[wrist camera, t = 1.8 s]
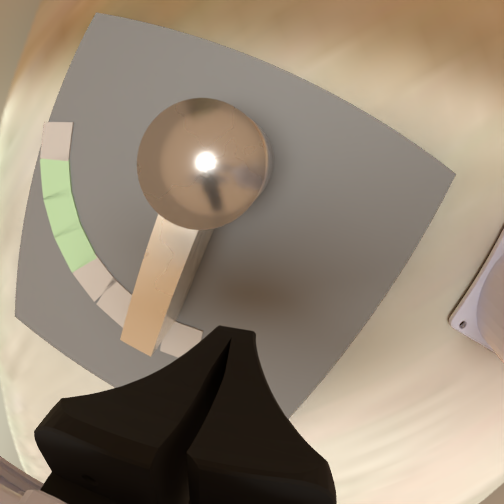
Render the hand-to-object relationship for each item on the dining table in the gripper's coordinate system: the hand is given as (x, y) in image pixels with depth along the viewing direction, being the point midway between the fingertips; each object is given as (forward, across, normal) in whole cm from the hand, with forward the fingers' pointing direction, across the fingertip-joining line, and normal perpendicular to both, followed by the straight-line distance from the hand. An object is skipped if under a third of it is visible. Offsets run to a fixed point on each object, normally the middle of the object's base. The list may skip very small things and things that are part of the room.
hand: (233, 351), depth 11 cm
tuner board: (+6, +5, -1) cm, 8 cm away
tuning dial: (+5, +3, -2) cm, 6 cm away
